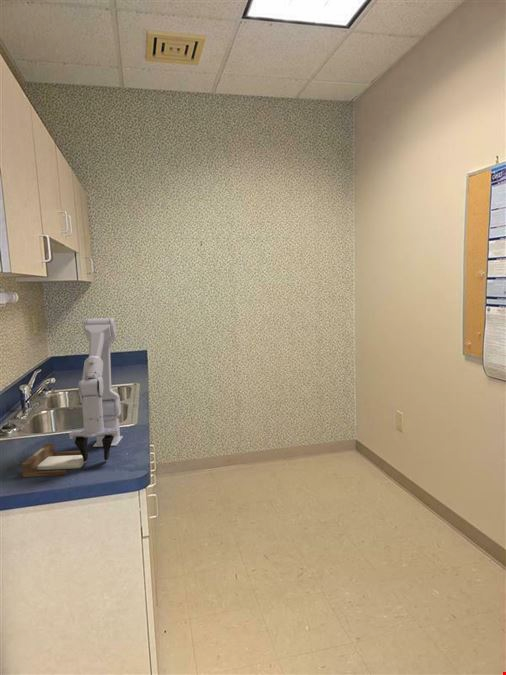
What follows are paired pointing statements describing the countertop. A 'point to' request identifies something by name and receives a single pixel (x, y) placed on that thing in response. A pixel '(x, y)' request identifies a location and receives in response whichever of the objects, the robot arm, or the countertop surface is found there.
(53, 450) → the dock
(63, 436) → the countertop surface
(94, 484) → the countertop surface
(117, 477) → the countertop surface
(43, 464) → the external hard drive
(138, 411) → the countertop surface
